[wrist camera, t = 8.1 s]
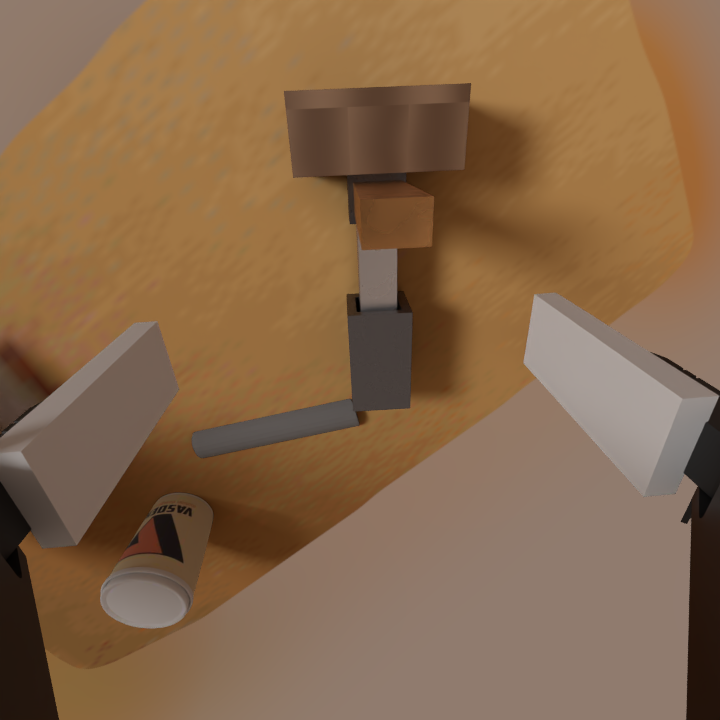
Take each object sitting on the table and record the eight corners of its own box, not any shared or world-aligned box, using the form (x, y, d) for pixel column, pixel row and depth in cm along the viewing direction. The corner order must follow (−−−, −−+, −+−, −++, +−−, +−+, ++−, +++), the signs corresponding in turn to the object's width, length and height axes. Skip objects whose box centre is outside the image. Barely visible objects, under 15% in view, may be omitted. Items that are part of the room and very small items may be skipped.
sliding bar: (355, 349, 41) (363, 454, 26) (344, 126, 31) (347, 106, 17) (398, 346, 41) (428, 451, 27) (399, 124, 31) (447, 102, 17)
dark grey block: (351, 380, 43) (353, 411, 38) (346, 294, 39) (347, 316, 34) (402, 377, 44) (410, 408, 38) (403, 291, 39) (412, 312, 34)
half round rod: (360, 423, 47) (361, 432, 45) (206, 455, 48) (202, 465, 47) (352, 394, 45) (353, 403, 43) (191, 428, 46) (186, 438, 45)
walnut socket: (302, 172, 34) (293, 177, 27) (295, 102, 31) (284, 91, 25) (441, 166, 34) (464, 169, 28) (445, 96, 31) (471, 83, 25)
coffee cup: (207, 483, 50) (171, 572, 39) (228, 532, 54) (201, 624, 44) (135, 492, 50) (80, 584, 39) (162, 540, 54) (119, 634, 44)
